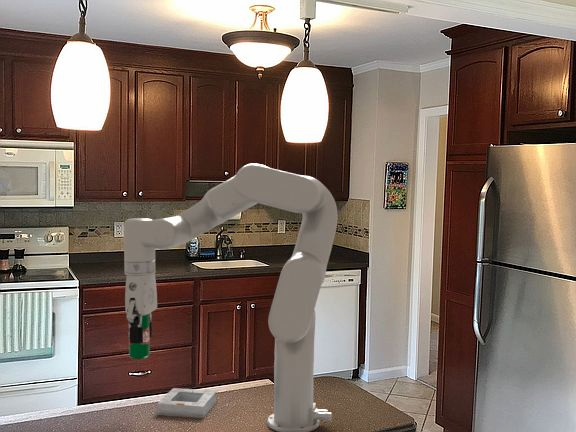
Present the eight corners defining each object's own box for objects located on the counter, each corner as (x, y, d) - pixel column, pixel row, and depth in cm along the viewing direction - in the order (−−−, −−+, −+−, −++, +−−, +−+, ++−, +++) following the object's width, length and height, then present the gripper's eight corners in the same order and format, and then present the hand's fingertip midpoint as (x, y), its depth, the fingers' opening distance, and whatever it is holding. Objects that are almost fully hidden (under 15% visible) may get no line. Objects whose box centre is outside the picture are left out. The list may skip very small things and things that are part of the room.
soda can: (144, 360, 154) (143, 311, 153) (125, 359, 155) (124, 311, 154) (153, 354, 159) (152, 307, 158) (134, 353, 160) (133, 307, 159)
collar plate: (216, 401, 167) (216, 389, 167) (203, 418, 155) (203, 405, 155) (173, 399, 169) (173, 387, 168) (157, 415, 157) (157, 402, 157)
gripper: (141, 272, 147) (142, 349, 148) (166, 263, 163) (167, 332, 164) (111, 272, 148) (112, 348, 149) (138, 263, 165) (139, 331, 165)
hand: (141, 339), depth 156 cm, fingers closed on soda can, 5 cm apart
